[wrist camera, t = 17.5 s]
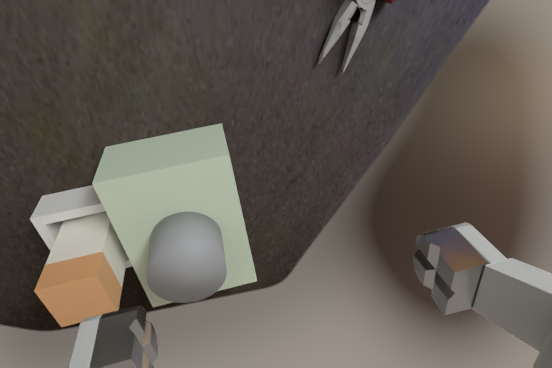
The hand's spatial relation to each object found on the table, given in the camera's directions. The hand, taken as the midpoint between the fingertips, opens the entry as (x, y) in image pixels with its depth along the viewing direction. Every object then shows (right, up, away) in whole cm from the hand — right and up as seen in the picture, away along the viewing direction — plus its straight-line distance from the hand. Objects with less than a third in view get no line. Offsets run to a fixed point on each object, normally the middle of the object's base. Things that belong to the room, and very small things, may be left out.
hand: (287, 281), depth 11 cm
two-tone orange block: (-20, -1, +31) cm, 37 cm away
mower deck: (-15, 0, +32) cm, 35 cm away
